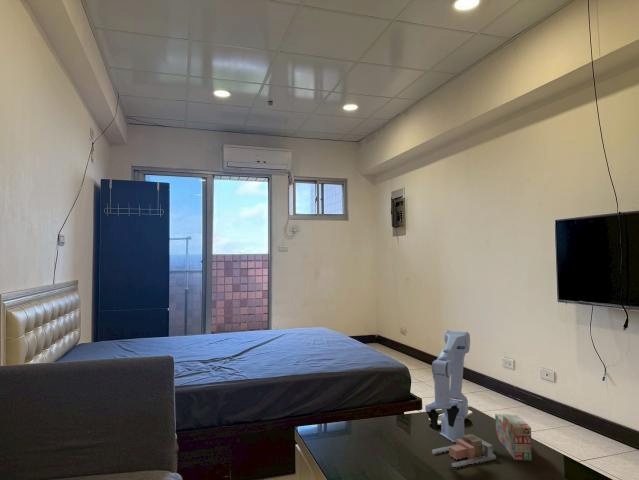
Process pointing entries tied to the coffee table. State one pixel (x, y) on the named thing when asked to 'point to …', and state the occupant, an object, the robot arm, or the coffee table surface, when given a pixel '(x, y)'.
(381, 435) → the coffee table surface
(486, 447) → the pale grey flat frame
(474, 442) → the block
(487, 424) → the coffee table surface
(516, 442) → the stack of blocks
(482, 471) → the coffee table surface
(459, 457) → the block
